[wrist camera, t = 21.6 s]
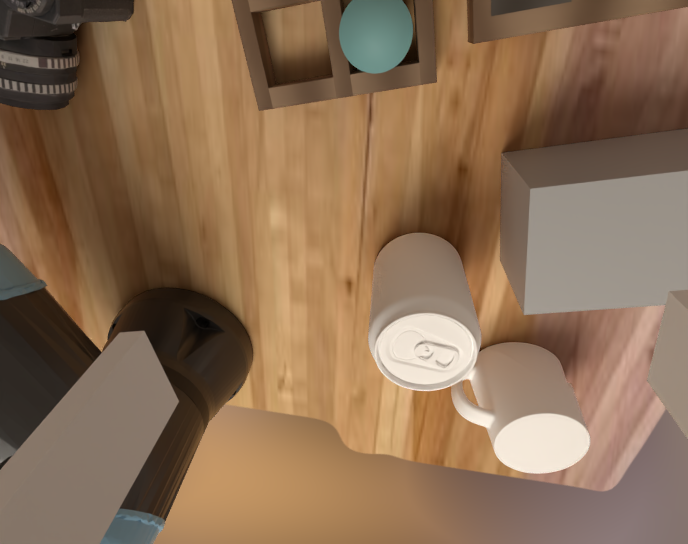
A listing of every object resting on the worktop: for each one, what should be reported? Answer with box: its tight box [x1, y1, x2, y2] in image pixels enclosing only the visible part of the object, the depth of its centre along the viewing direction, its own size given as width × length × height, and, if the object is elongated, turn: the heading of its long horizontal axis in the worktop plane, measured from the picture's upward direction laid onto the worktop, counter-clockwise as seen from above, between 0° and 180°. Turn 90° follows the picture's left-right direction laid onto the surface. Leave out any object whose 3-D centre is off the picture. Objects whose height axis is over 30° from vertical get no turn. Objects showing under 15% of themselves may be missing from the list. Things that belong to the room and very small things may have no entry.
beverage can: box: [368, 233, 481, 391], centre depth 35 cm, size 8×8×12 cm
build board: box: [232, 0, 437, 111], centre depth 30 cm, size 13×8×2 cm, turn 99°
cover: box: [500, 128, 688, 315], centre depth 32 cm, size 15×10×8 cm, turn 99°
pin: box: [339, 0, 413, 74], centre depth 26 cm, size 4×4×12 cm
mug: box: [451, 342, 590, 473], centre depth 41 cm, size 12×9×8 cm
